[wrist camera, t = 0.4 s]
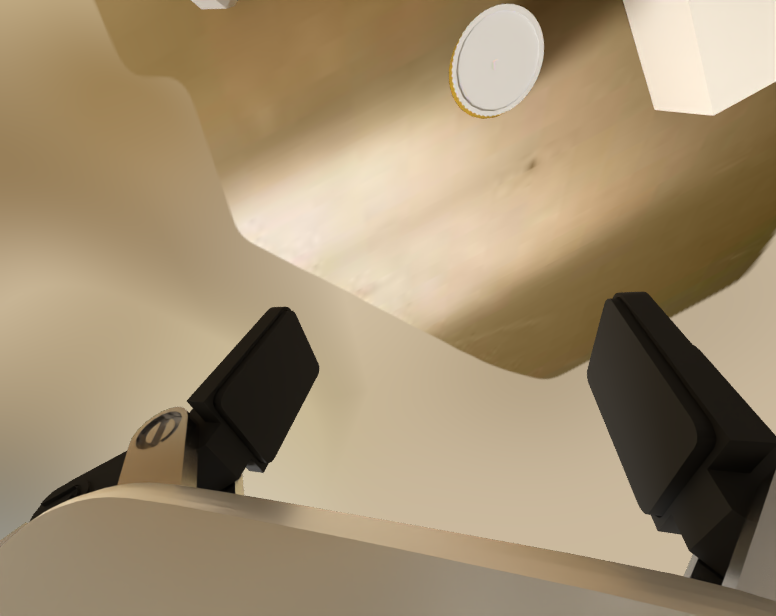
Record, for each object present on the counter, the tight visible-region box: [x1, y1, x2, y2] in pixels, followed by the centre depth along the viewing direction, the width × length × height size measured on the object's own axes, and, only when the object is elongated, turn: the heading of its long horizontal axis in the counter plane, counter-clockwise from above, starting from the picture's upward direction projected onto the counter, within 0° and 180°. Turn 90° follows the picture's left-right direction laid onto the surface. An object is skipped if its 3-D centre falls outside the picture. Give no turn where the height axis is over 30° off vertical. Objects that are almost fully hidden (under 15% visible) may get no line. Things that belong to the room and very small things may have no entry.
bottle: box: [449, 3, 544, 119], centre depth 27 cm, size 7×7×15 cm
